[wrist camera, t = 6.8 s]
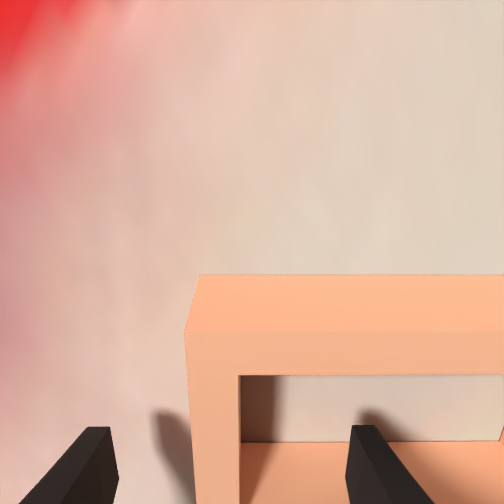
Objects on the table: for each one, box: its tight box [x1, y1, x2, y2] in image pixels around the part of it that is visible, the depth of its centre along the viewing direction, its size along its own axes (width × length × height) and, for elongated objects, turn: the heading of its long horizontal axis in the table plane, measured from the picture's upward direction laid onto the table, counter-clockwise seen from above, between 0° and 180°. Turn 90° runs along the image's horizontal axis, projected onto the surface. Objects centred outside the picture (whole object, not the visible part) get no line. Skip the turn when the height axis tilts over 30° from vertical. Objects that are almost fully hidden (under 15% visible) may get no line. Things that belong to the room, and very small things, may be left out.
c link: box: [184, 275, 504, 504], centre depth 11 cm, size 12×8×3 cm, turn 90°
